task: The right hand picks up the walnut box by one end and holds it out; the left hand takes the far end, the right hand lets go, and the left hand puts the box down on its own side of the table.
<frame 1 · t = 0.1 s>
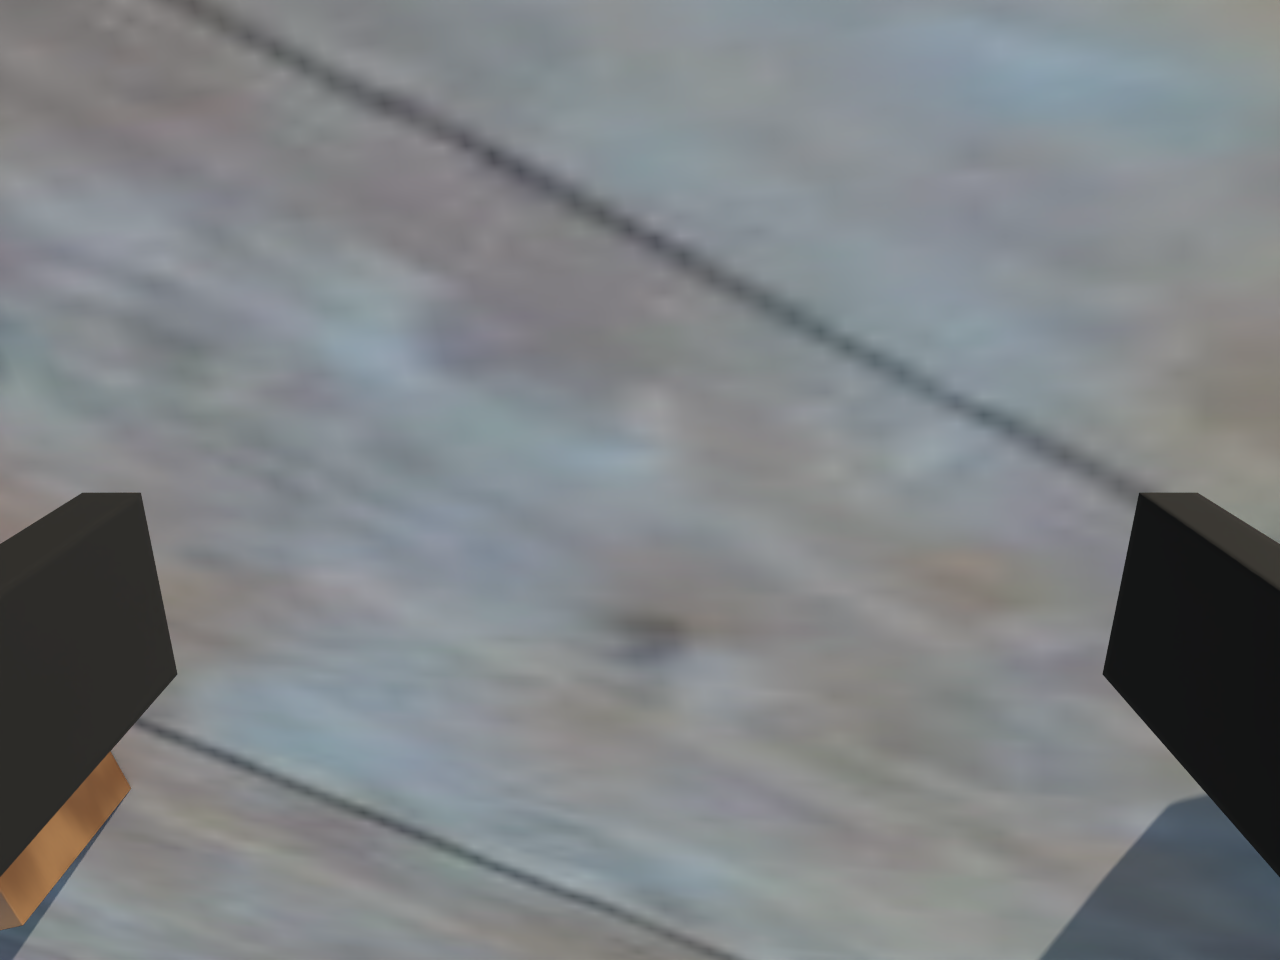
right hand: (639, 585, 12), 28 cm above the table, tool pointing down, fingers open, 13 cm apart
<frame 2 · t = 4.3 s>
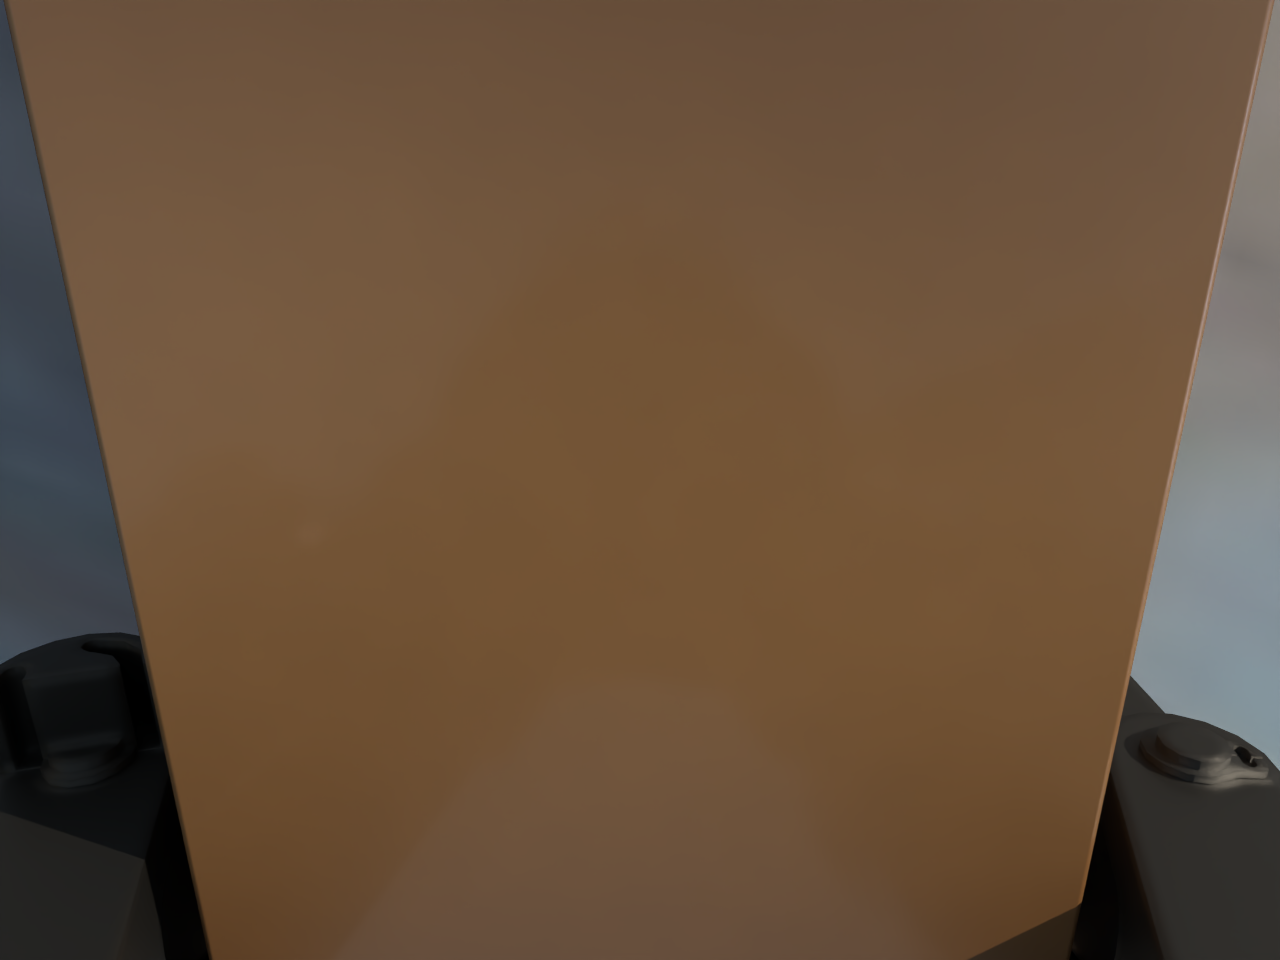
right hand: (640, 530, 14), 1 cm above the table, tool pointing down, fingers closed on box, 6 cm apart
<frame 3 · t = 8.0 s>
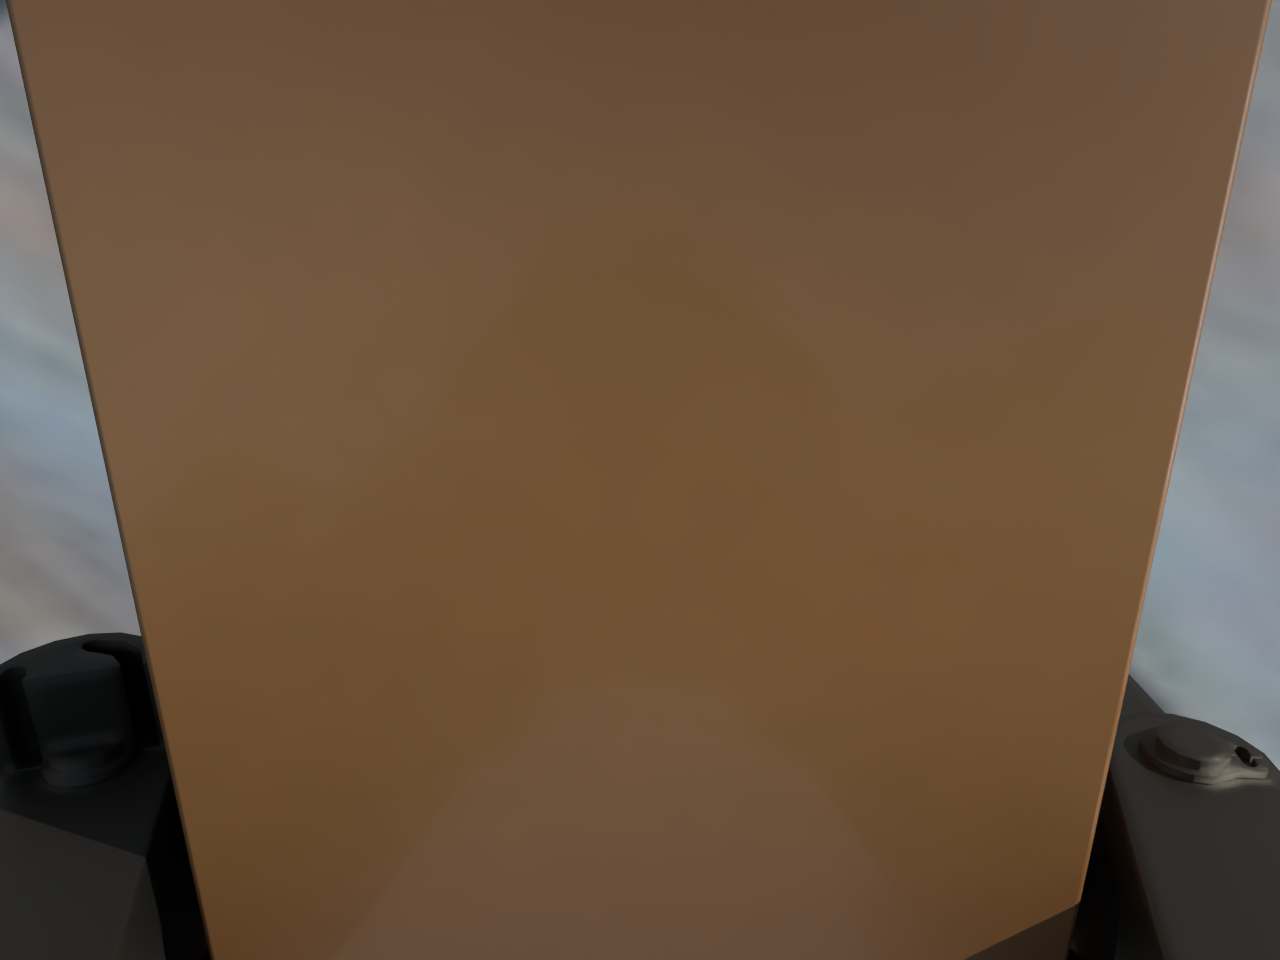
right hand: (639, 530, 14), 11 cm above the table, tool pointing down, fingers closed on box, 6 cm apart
when the right hand's fingers open (11 cm above the table, at t = 9.0 s): box stays where it is, held by the left hand.
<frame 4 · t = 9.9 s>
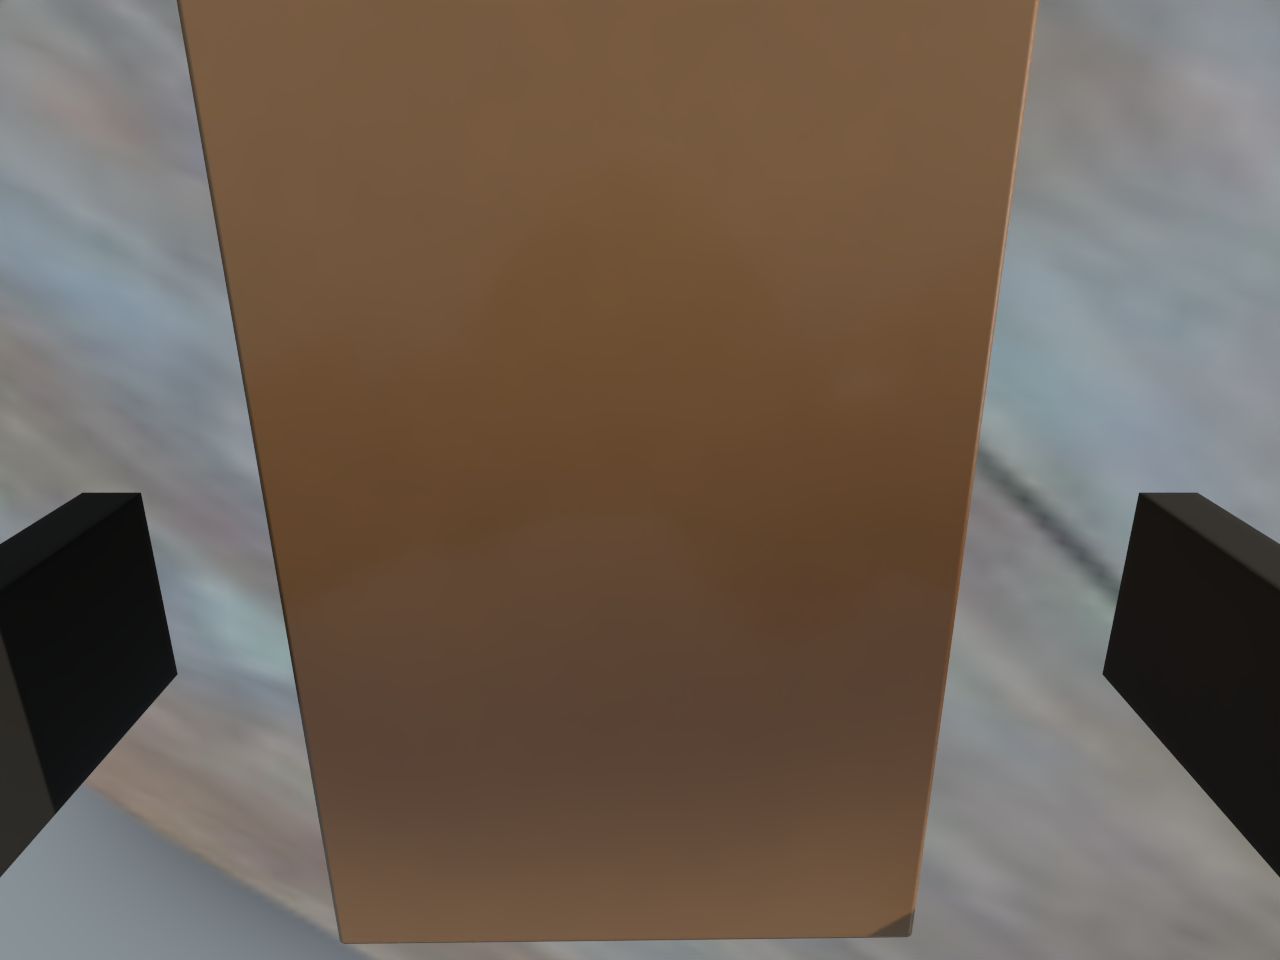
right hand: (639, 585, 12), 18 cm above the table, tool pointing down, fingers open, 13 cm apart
when the left hand's fingers open (5 cm above the table, at t = 16.5 s): box stays where it is, on the table.
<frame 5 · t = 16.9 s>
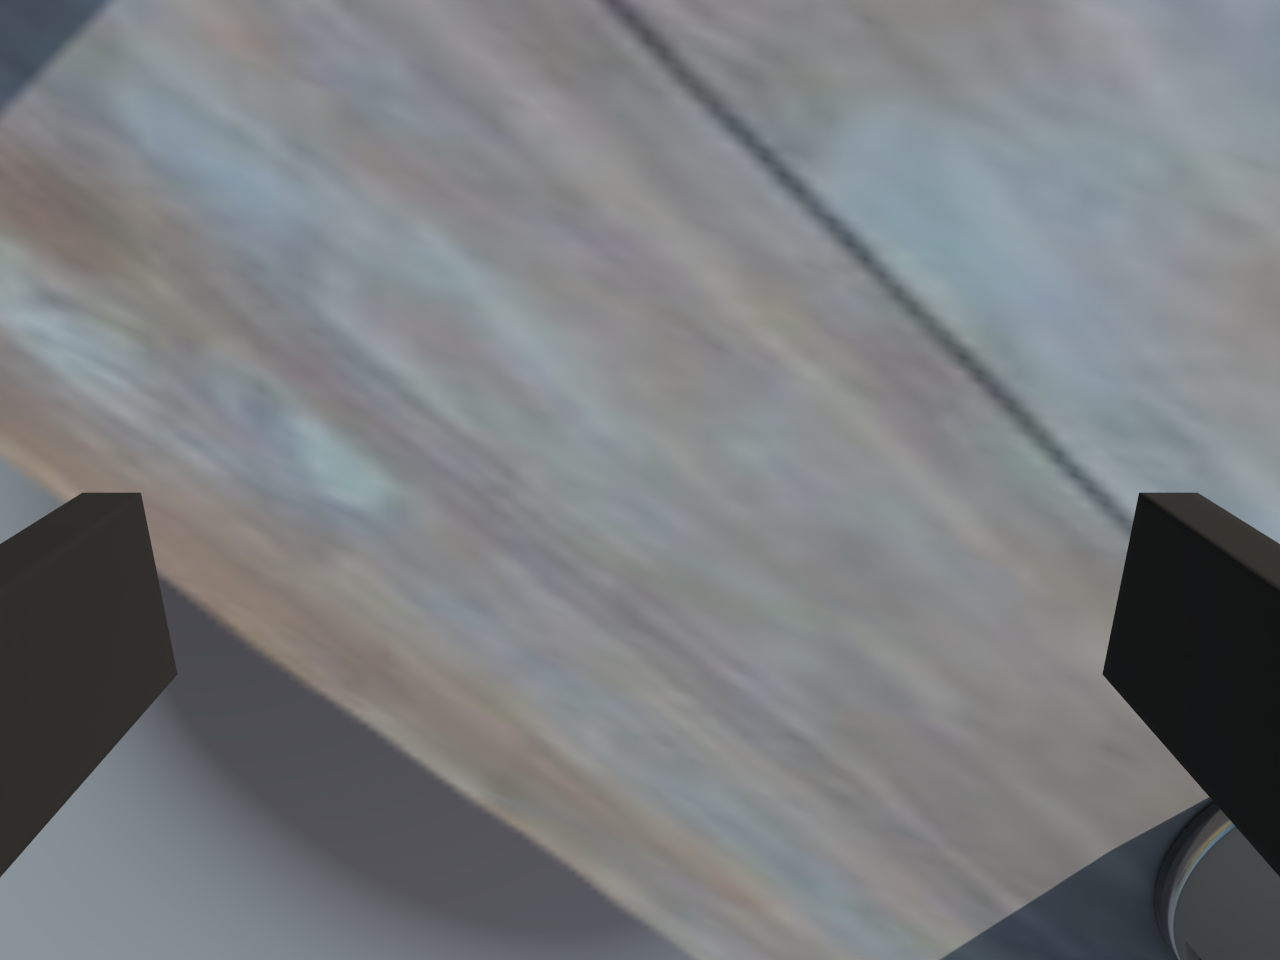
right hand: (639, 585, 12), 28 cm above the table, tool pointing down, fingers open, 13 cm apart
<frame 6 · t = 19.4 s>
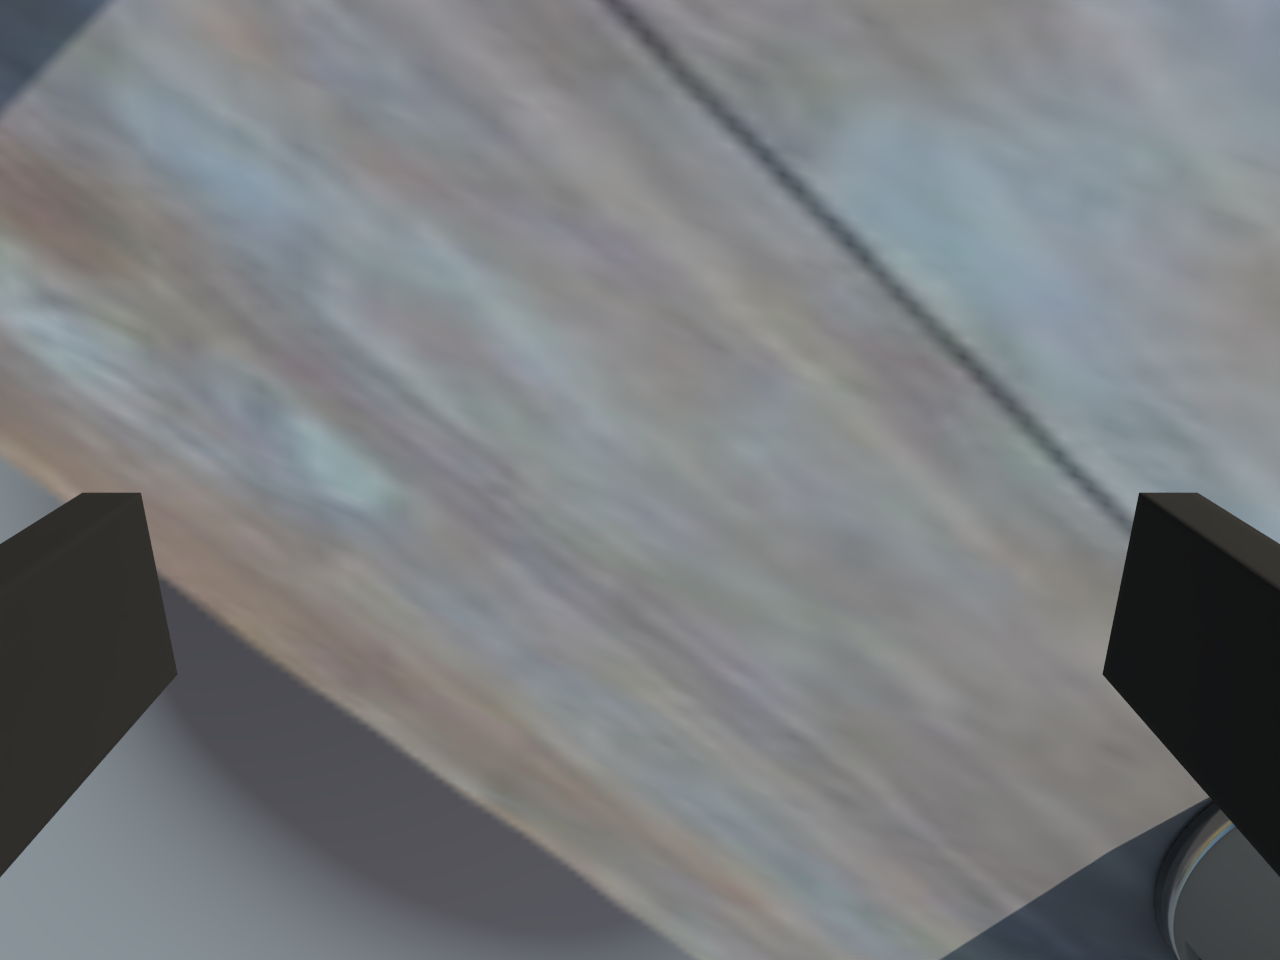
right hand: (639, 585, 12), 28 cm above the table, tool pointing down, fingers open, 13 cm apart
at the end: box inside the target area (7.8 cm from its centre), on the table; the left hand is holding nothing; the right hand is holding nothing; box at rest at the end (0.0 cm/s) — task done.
